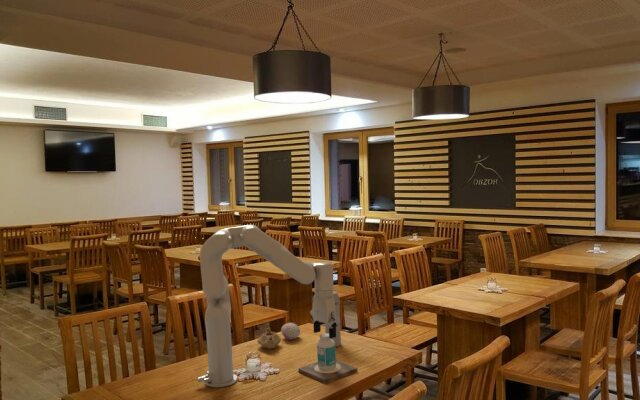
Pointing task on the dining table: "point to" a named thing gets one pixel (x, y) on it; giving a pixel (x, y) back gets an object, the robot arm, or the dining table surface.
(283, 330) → the decorative item
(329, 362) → the pill bottle
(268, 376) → the dining table surface
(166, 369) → the dining table surface
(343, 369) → the serving board
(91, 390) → the dining table surface
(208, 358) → the robot arm
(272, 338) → the oil lamp
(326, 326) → the water bottle
